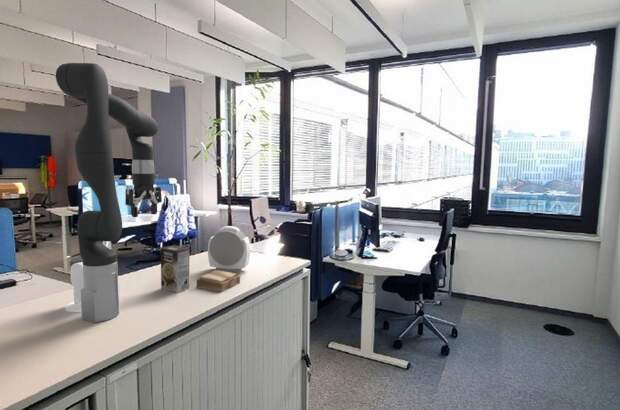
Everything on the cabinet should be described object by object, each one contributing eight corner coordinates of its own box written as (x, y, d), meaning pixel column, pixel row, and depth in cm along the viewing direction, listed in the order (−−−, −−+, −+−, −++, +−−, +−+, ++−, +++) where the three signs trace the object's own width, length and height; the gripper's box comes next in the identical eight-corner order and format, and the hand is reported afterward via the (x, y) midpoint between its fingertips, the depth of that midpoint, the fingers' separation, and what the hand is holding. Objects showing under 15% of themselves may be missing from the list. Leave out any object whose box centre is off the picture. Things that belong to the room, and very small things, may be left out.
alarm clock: (250, 268, 166) (251, 226, 164) (245, 274, 158) (246, 229, 156) (213, 266, 168) (213, 224, 166) (206, 272, 160) (206, 227, 157)
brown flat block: (221, 292, 135) (221, 281, 135) (196, 287, 140) (196, 277, 140) (239, 282, 146) (239, 273, 146) (216, 278, 151) (216, 269, 151)
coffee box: (160, 288, 137) (159, 247, 135) (173, 284, 143) (173, 244, 141) (177, 293, 133) (176, 251, 131) (190, 288, 139) (190, 247, 137)
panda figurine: (113, 304, 121) (111, 261, 120) (77, 315, 112) (75, 269, 110) (93, 296, 127) (91, 255, 126) (58, 307, 118) (55, 262, 116)
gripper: (134, 173, 124) (135, 219, 126) (165, 172, 137) (166, 214, 139) (119, 172, 127) (120, 217, 129) (151, 171, 140) (152, 212, 142)
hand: (144, 215), depth 134 cm, fingers open, 8 cm apart
